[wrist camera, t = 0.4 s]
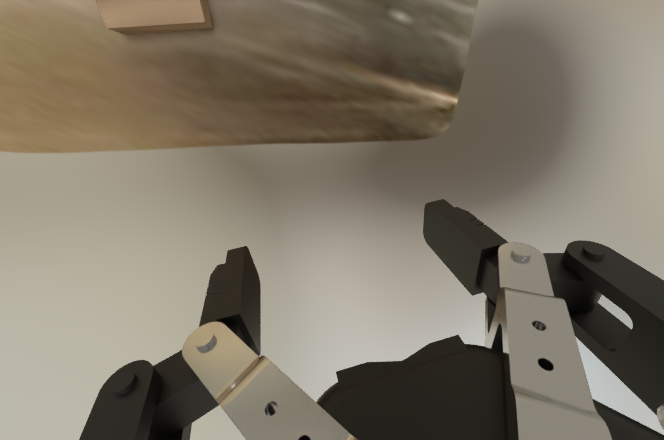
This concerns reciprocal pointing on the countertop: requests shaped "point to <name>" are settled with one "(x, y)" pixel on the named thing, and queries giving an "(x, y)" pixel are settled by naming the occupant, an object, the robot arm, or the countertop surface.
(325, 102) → the countertop surface
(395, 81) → the countertop surface
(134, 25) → the walnut block
